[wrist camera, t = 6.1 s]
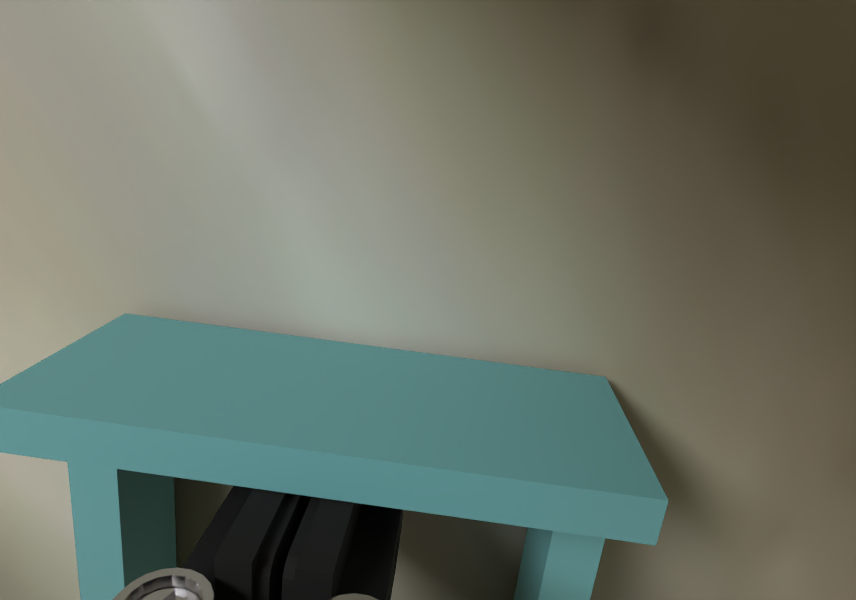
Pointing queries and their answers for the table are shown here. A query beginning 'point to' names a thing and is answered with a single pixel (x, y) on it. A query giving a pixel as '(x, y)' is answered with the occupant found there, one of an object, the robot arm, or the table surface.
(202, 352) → the teal drawer
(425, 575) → the table surface
